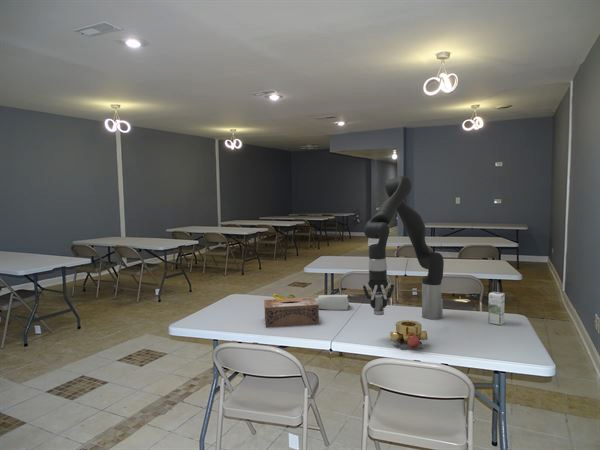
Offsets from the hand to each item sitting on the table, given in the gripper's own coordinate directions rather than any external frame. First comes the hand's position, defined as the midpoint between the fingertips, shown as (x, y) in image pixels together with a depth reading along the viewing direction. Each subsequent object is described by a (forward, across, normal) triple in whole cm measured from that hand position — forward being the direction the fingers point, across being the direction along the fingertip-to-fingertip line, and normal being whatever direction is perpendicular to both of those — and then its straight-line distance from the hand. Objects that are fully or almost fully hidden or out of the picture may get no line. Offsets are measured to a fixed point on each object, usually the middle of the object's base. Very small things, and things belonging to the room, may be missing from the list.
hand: (378, 307), depth 178 cm
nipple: (+3, 0, 0) cm, 3 cm away
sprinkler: (+14, +43, -58) cm, 74 cm away
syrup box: (+15, -60, -16) cm, 63 cm away
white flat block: (+14, +17, -57) cm, 61 cm away
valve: (+14, -10, +10) cm, 20 cm away
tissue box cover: (+14, +38, -27) cm, 49 cm away
